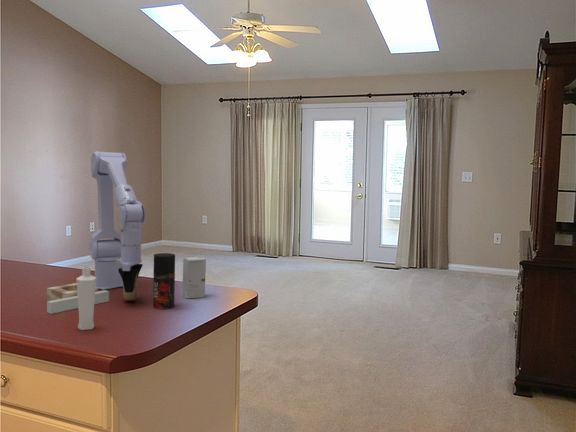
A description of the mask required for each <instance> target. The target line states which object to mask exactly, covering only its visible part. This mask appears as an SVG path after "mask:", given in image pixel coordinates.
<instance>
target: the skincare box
mask: <svg viewBox="0 0 576 432" xmlns="http://www.w3.org/2000/svg"><path fill="white" fill-rule="evenodd" d="M182 260H183V263H182V294H181V296H182V297H183V298H185V299H197V298H205V296H206V271H207V270H206V267H207V259H206V258H204V257H201V256H198V257H195V256H194V257H193V256H192V257H183V259H182Z"/></svg>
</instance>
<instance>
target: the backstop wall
mask: <svg viewBox="0 0 576 432" xmlns="http://www.w3.org/2000/svg"><path fill="white" fill-rule="evenodd" d="M109 301H110V291H109V290H107V289H106V290H100V291H99V290H98V292H95V301H94V306H95V305H98V304H103V303H104V304H105V303H107V302H109ZM75 309H76V310H77V309H78V296H73V297H68V298H63V299H58V300H52V301H47V300H46V313H47V314H50V315H51V314H52V315H53V314H57V313H63V312H66V311H71V310H75Z"/></svg>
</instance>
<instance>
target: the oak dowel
mask: <svg viewBox="0 0 576 432" xmlns="http://www.w3.org/2000/svg"><path fill="white" fill-rule="evenodd" d="M122 289H123V290H122V294H123V295H122V297H123V298H122V299H123V300H125V301H134V300H137V299H138V280H137V275H136V279H135V284H134V290H133V292H132V293H126V292H125V290H124V285H123V286H122Z"/></svg>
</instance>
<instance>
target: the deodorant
mask: <svg viewBox="0 0 576 432" xmlns="http://www.w3.org/2000/svg"><path fill="white" fill-rule="evenodd" d="M175 276H176V254H174V253H170V252H169V253H168V252H161V253H160V252H159V253H155V254H153V283H152V284H153V287H152V289H153V290H152V296H153V297H152V298H153V299H152V301H153V302H152V306H153V308H154V309H158V310H168V309H169V310H170V309H172V308H174V307H175V290H176V289H175V287H176V285H175V284H176V283H175V280H176V277H175Z"/></svg>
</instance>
